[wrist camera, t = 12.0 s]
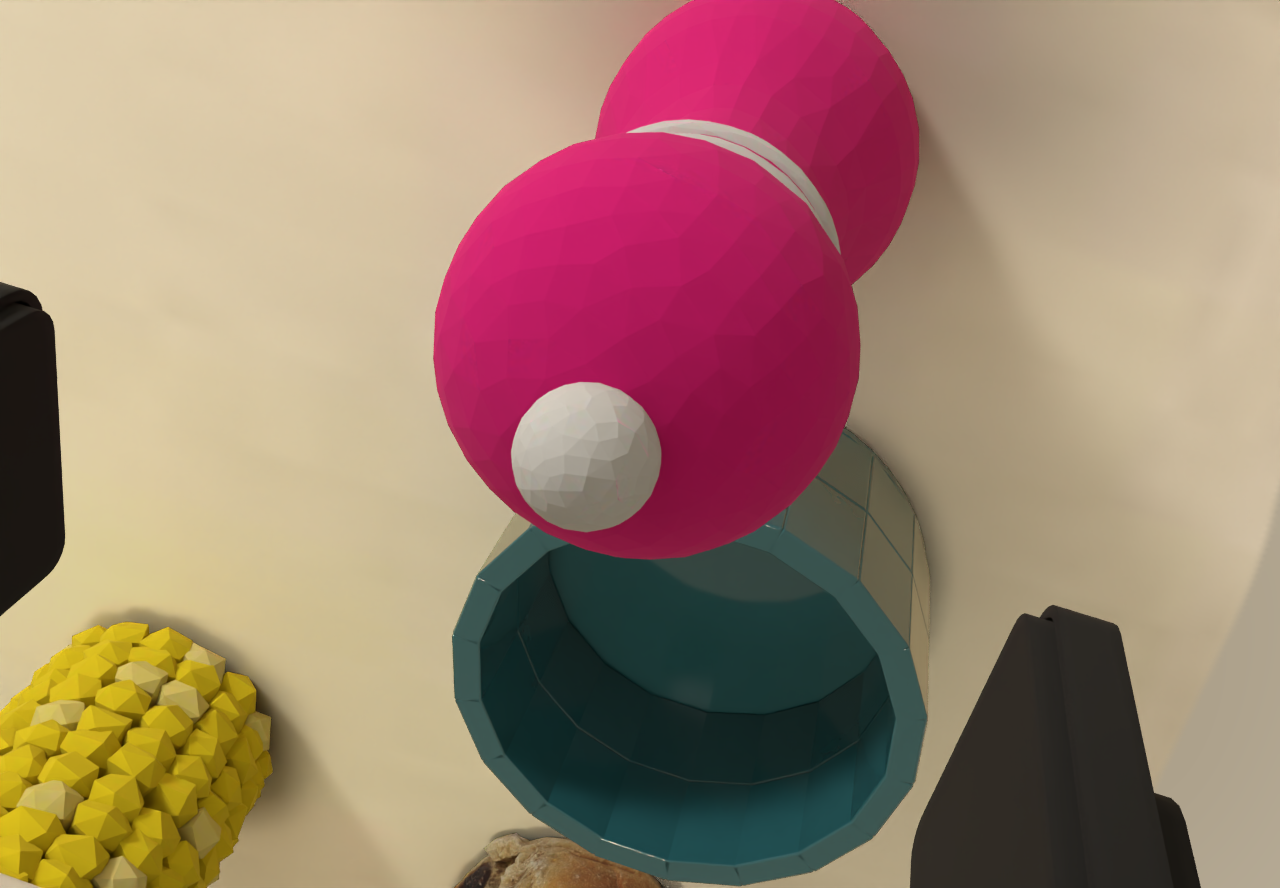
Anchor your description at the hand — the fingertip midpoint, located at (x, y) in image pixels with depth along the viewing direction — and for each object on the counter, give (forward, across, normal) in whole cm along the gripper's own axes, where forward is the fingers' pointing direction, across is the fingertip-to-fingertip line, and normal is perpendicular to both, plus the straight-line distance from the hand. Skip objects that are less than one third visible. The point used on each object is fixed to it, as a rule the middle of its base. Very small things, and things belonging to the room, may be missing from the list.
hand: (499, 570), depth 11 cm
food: (+22, +16, +29) cm, 40 cm away
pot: (+22, -2, +15) cm, 27 cm away
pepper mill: (+22, 0, +1) cm, 23 cm away
